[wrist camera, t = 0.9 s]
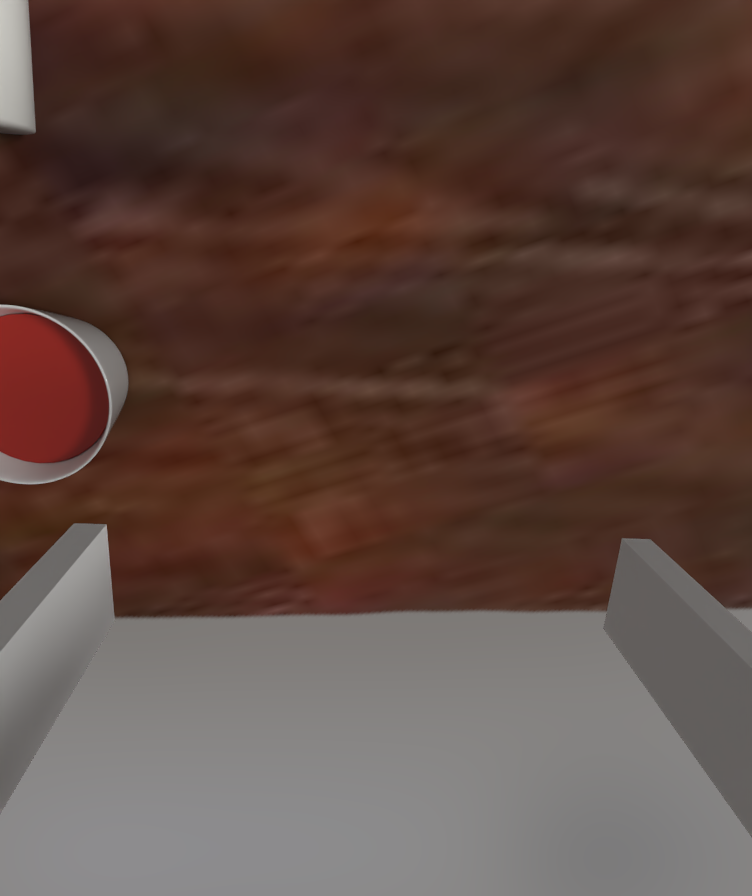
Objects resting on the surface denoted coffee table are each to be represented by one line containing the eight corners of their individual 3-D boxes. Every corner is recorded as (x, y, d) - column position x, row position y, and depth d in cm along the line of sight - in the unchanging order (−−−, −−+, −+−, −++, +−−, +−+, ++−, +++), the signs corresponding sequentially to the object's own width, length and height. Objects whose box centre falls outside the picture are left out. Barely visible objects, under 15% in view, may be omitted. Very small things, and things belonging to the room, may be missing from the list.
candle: (163, 437, 37) (130, 472, 31) (15, 456, 37) (-47, 495, 31) (128, 288, 34) (85, 293, 28) (-32, 307, 34) (-110, 317, 28)
